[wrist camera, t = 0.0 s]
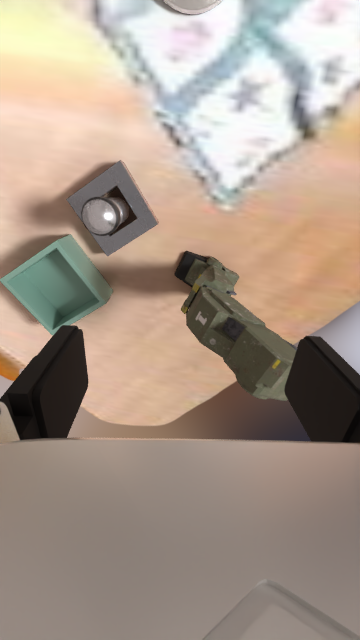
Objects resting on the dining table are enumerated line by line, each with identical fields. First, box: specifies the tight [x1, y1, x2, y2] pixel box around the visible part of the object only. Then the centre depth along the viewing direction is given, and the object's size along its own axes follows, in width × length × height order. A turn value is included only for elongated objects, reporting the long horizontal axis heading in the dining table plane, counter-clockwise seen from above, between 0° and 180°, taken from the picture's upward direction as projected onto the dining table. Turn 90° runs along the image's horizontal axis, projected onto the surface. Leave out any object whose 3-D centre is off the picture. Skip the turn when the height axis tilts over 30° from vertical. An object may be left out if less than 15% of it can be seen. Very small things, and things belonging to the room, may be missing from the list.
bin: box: [0, 234, 113, 335], centre depth 45 cm, size 12×12×6 cm
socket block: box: [66, 160, 159, 256], centre depth 41 cm, size 10×10×3 cm
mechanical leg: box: [175, 251, 297, 401], centre depth 36 cm, size 14×7×30 cm, turn 64°
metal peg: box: [81, 197, 129, 236], centre depth 37 cm, size 5×5×12 cm
